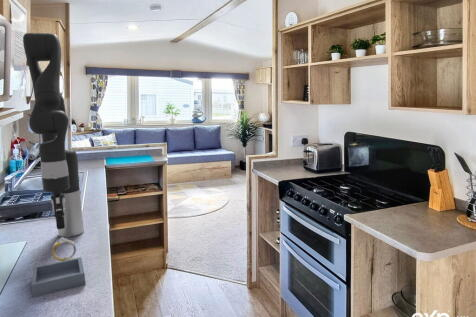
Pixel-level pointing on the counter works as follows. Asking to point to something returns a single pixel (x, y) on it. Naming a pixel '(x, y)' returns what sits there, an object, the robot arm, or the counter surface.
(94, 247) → the counter surface
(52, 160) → the robot arm
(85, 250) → the counter surface
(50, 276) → the dish
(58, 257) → the ring
